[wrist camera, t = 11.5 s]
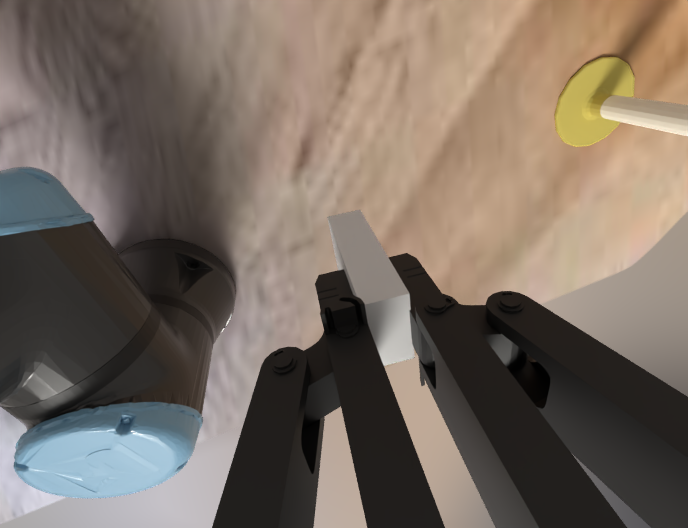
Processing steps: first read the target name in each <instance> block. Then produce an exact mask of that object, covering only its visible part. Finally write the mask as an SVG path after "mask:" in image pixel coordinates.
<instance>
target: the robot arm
mask: <svg viewBox="0 0 688 528" xmlns="http://www.w3.org/2000/svg"><path fill="white" fill-rule="evenodd" d="M327 218H328V222H329V227H330V232H331V237H332V242H333V247H334V252H335V257H336V262H337V267H338V271H334V272H330V273H326V274H322V275H319V276H318V278H317V281H316V283H315V286H316V290H317V295H318V300H319V304H320V309H321V312H320V315H321V319H322V323H323V327H324V333H323V335H322V337H321V338H320V340H319V341H318V342H317V343H316V344H314V345H313V346H311V347H310V348H308V349H306V350H304V351H303V350H301V349H299V348H297V347H285V348H280V349H278V350H276V351H274V352H272V353H271V354H270V355H269V356H268V357H267V358H266V359H265V360H264V362H263V364H262V366H261V369H260V372H259V376H258V379H257V382H256V386H255V389H254V392H253V395H252V399H251V402H250V405H249V408H248V412H247V415H246V418H245V422H244V425H243V428H242V431H241V435H240V438H239V441H238V445H237V448H236V451H235V454H234V458H233V461H232V464H231V468H230V471H229V474H228V477H227V480H226V484H225V487H224V491H223V494H222V497H221V500H220V504H219V507H218V510H217V513H216V516H215V520H214V523H213V526H212V528H313V526H314V516H315V507H316V497H317V488H318V478H319V468H320V458H321V449H322V439H323V429H324V420H325V419H324V416H326V415H327V414H329V413H331V412H332V411H334V410H335V409H337V408H339V407H340V406H341V408H342V413H343V417H344V422H345V427H346V431H347V435H348V440H349V445H350V449H351V454H352V459H353V463H354V468H355V473H356V477H357V482H358V486H359V491H360V495H361V500H362V505H363V509H364V513H365V518H366V523H367V528H445V527H444V524H443V521H442V519H441V516H440V513H439V511H438V508H437V506H436V503H435V500H434V498H433V495H432V492H431V490H430V487H429V484H428V482H427V479H426V476H425V474H424V471H423V468H422V466H421V463H420V461H419V458H418V455H417V453H416V450H415V448H414V445H413V442H412V439H411V437H410V434H409V431H408V429H407V426H406V423H405V421H404V418H403V416H402V413H401V410H400V408H399V405H398V402H397V400H396V397H395V394H394V392H393V389H392V387H391V384H390V381H389V379H388V376H387V373H386V371H385V368H384V366H386V365H390V364H393V363H397V362H401V361H405V360H409V359H412V358H415V357H414V349H415V351H416V353H417V355H418V356H419V368H420V381H421V385H422V386H423V385H425V382H424V379H425V381H426V383H427V385H428V387H429V389H430V391H431V393H432V395H433V397H434V400H435V402H436V404H437V406H438V408H439V410H440V412H441V414H442V416H443V418H444V420H445V423H446V425H447V427H448V429H449V431H450V433H451V435H452V437H453V439H454V441H455V444H456V446H457V448H458V450H459V452H460V454H461V456H462V458H463V460H464V462H465V464H466V467H467V469H468V471H469V473H470V475H471V477H472V479H473V481H474V483H475V485H476V487H477V489H478V491H479V493H480V496H481V498H482V500H483V502H484V504H485V506H486V508H487V510H488V513H489V515H490V517H491V519H492V521H493V523H494V525H495V527H496V528H627V527H626V526H625V524H624V523H623V522H622V520H621V519H620V518H619V516H618V515H617V514H616V512H615V511H614V510H613V508H612V507H611V506H610V504H609V503H608V502H607V500H606V499H605V498H604V496H603V495H602V494H601V492H600V491H599V490H598V488H597V487H596V486H595V484H594V483H593V482H592V480H591V479H590V478H589V476H588V475H587V474H586V472H585V471H584V470H583V468H582V467H581V466H580V464H579V463H578V462H577V460H576V459H575V458H574V456H576V458H578V459H579V460H580V461H581V462H582V463H583V464H584V465H585V466H586V467H587V468H588V469H589V470H590V471H591V472H593V473H594V474H595V475H596V476H597V477H598V478H599V479H600V480H601V481H602V482H603V483H604V484H605V485H606V486H607V487H608V488H610V489H611V490H612V491H613V492H614V493H615V494H616V495H617V496H618V497H619V498H620V499H621V500H622V501H624V503H626V504H627V505H628V506H629V507H630V508H631V509H632V510H633V511H634V512H635V513H636V514H637V515H638V516H639V517H641V518H642V519H643V520H644V521H645V522H646V523H647V524H648V525H649V526H650V527H651V528H688V397H687V396H686V395H684V394H682V393H681V392H679V391H678V390H676V389H674V388H673V387H671V386H669V385H668V384H666V383H665V382H663V381H661V380H660V379H658V378H657V377H655V376H654V375H652V374H650V373H649V372H647V371H646V370H644V369H642V368H641V367H639V366H638V365H636V364H634V363H633V362H631V361H630V360H628V359H626V358H625V357H623V356H622V355H620V354H618V353H617V352H615V351H614V350H612V349H610V348H609V347H607V346H606V345H604V344H602V343H601V342H599V341H598V340H596V339H594V338H593V337H591V336H590V335H588V334H586V333H585V332H583V331H582V330H580V329H578V328H577V327H575V326H574V325H572V324H570V323H569V322H567V321H565V320H564V319H562V318H561V317H559V316H558V315H556V314H554V313H553V312H551V311H550V310H548V309H546V308H545V307H543V306H542V305H540V304H538V303H537V302H535V301H534V300H532V299H530V298H529V297H527V296H525V295H523V294H520V293H517V292H512V291H501V292H498V293H494V294H492V295H491V296H490V297H488V299H487V302H486V305H461V304H459V303H458V302H457V301H456V300H455V299H454V298H453V297H450V296H448V295H445V294H442V293H441V292H440V290H439V289H438V287H437V286H436V285H435V283H434V282H433V280H432V279H431V278H430V276H429V275H428V273H426V271H425V269H424V268H423V267H422V265H421V264H420V262H419V261H418V260H417V258H415V257H413V256H411V255H409V254H408V253H405V254H401V255H397V256H393V257H389V258H388V256H387V255H386V253H385V251H384V249H383V248H382V246H381V244H380V243H379V241H378V239H377V238H376V236H375V234H374V232H373V231H372V229H371V227H370V226H369V224H368V222H367V221H366V219H365V217H364V215H363V214H362V212H361V210H356V211H351V212H347V213H342V214H338V215H334V216H329V217H327ZM93 220H94V218H93V216H92V215H91V214H89V213H86V212H85V211H84V210H83V208H82V207H81V206H80V205H79V204H78V203H77V202H76V200H75V199H74V198H73V197H72V196H71V194H70V193H69V192H68V191H67V190H66V188H65V187H64V186H63V185H62V183H61V182H60V181H59V180H58V179H57V178H55V177H54V176H53V175H51V174H50V173H48V172H46V171H44V170H41V169H38V168H33V167H17V168H11V169H6V170H2V171H0V406H1V407H2V408H3V409H5V410H6V411H7V412H9V413H10V414H11V415H13V416H14V417H15V418H16V419H18V420H19V421H20V422H22V423H23V424H24V425H25V426H26V428H27V432H26V433H24V434H23V435H22V436H21V437H20V439H19V440H18V442H17V443H16V447H15V448H16V453H15V456H14V458H15V462H14V469H15V472H16V473H17V475H18V476H19V477H20V478H21V479H22V480H23V481H24V482H25V483H27V484H28V485H30V486H32V487H34V488H36V489H38V490H41V491H43V492H46V493H50V494H54V495H59V496H65V497H74V498H107V497H116V496H122V495H127V494H132V493H136V492H140V491H143V490H146V489H149V488H152V487H154V486H156V485H159V484H161V483H163V482H165V481H166V480H168V479H170V478H171V477H173V476H174V475H175V474H177V473H178V472H179V471H180V470H181V469H182V468H183V467H184V466H185V465H186V463H187V461H188V460H189V459H190V457H191V455H192V453H193V451H194V448H195V444H196V440H197V437H198V433H199V430H200V428H201V426H202V422H203V417H201V416H202V410H203V404H204V398H205V392H206V386H207V379H208V373H209V367H210V361H211V355H212V349H213V344H214V343H215V341H216V339H217V338H218V336H219V335H220V334H221V332H222V331H223V330H224V329H225V328H226V326H227V325H228V323H229V321H230V319H231V317H232V314H233V311H234V304H235V294H236V293H235V285H234V282H233V279H232V277H231V275H230V273H229V271H228V270H227V268H226V267H225V266H224V264H223V263H222V262H221V261H220V260H219V259H218V258H216V257H215V256H214V255H213V254H211V253H210V252H208V251H206V250H205V249H203V248H201V247H198V246H196V245H193V244H190V243H187V242H183V241H178V240H170V239H158V240H150V241H145V242H141V243H138V244H136V245H133V246H131V247H129V248H127V249H126V250H124V251H123V252H121V253H120V254H119V255H118V254H117V253H116V252H115V250H114V249H113V247H112V246H111V245H110V243H109V242H108V241H107V239H106V238H105V237H104V235H103V234H102V232H101V231H100V230H99V228H98V227H97V226H96V224H95V223H94V221H93ZM571 453H572V454H573V455H574V456H573V455H572V454H571Z"/></svg>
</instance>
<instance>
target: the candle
mask: <svg viewBox="0 0 688 528" xmlns="http://www.w3.org/2000/svg"><path fill="white" fill-rule="evenodd" d="M633 95H634V75H633V73H632V71H631V68H630V66H629V64H627V63H626V62H624V61H623V60H621V59H619V58H618V57H600V58H598V59H596V60H594V61H592V62H590V63H588V64H586V65H584V66H583V67H582V68H581V69H580V70H579V71H578V72H577V73H576V74H575V75H574V76H573V77H572V78H570V79H569V81H568V83H567V85H566V86H565V88H564V90H563V91H562V93H561V95H560V96H559V100H558V103H557V107H556V111H555V126H556V131H557V133H558V134H559V136H560V138H561V139H562V141H563V142H566V143H568V144H570V145H572V146H574V147H579V146H590V145H592V144H594V143H596V142H598V141H600V140H602V139H604V138H605V137H606V136H607V135H609V134H610V133H611V132H612V131H613V130H614V129H615V128H616V127H617V126H618V125H619V123H620V122H623V123H628V124H633V125H637V126H642V127H647V128H651V129H656V130H661V131H665V132H670V133H675V134H680V135H684V136H688V105H683V104H676V103H668V102H661V101H654V100H647V99H640V98H633Z"/></svg>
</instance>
